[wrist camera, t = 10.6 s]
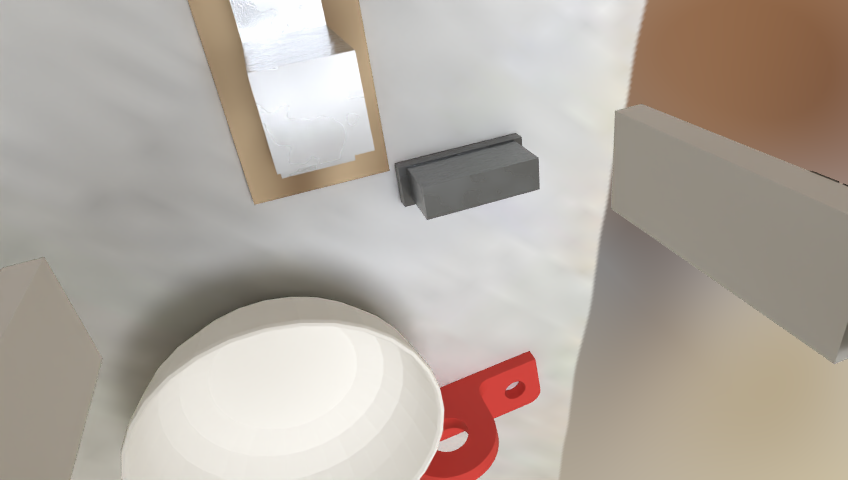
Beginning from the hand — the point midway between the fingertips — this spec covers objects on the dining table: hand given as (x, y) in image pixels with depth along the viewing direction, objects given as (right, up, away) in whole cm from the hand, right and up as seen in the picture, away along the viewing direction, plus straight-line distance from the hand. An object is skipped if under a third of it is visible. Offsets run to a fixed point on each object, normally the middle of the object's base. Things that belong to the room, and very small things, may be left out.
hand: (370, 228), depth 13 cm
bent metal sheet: (-6, +9, +16) cm, 19 cm away
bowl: (-8, -9, +26) cm, 29 cm away
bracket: (+5, -13, +33) cm, 35 cm away
